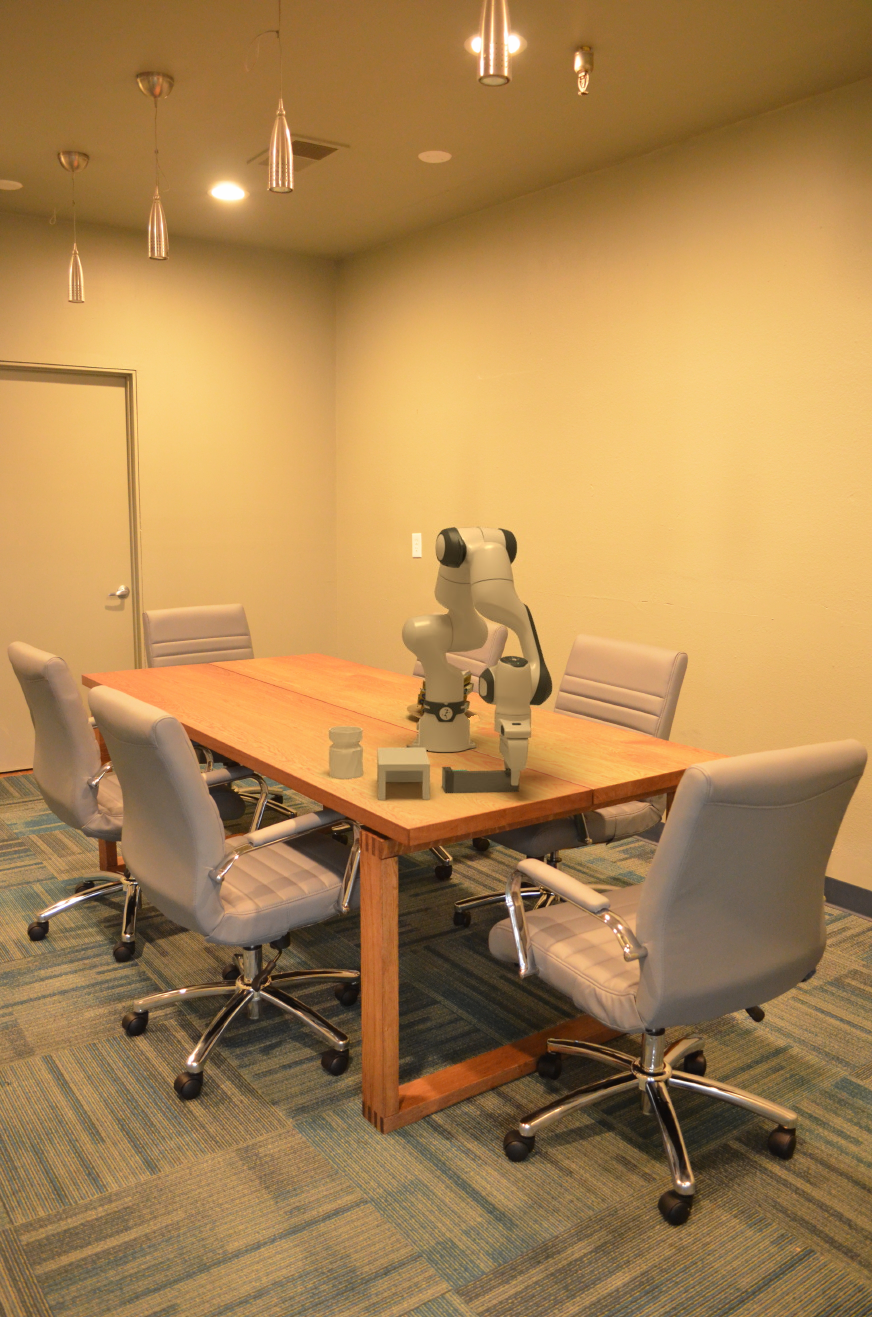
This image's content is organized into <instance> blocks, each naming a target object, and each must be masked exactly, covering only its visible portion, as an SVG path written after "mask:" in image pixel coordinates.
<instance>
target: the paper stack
mask: <svg viewBox="0 0 872 1317" xmlns="http://www.w3.org/2000/svg"><path fill="white" fill-rule="evenodd" d="M461 672H462V674H463V676H464V696H463V699H464V700H465V712H464V714H465V716H466V717H467V718H470V717H471V716H474V715H478V714H477V713H475V712H474V711H471V710H469V708H470V705H471V701H469V700H468V695H470V694H472V692H473V690H474V682H471V681H472V672H471V670H470V669H466V670H461ZM419 689H420V692H419V693H418V694H417V703H413V704H410V705H408V706H407V708H406V711H407V712H408V713H409V714H411V715H412V716H414V717H417V718H419V719H421V717H422V716H423V715H424V713H425V712H424V700H425V699H426V688H425V679H424V680H422V687H419Z"/></svg>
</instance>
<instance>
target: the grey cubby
mask: <svg viewBox="0 0 872 1317" xmlns="http://www.w3.org/2000/svg"><path fill="white" fill-rule="evenodd" d="M376 752H377V754H376V755H377V757H376V758H377V763H376V764H377V765H376V766H377V767H376V768H377V772H376V776H377V778H376V779H377V780H376V782H377V783H378V785H377V786H378V787H377V788H378V792H377V796H378V801H386V783H422V800H426V801H427V800H428V801H429V800H430V799H431V798H430V797H431V796H430V794H431V792H430V790H431V789H430V788H431V763H430V759H429V756H428V753H427V750H426V749H425V748H406V747H377V751H376Z"/></svg>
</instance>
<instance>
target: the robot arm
mask: <svg viewBox="0 0 872 1317" xmlns="http://www.w3.org/2000/svg"><path fill="white" fill-rule="evenodd" d="M517 541H518V540H517V538H516V536H515V535H514V533H513V532H512V531H511V530H508V529H504V528H501V527H500V528H499V527H498V528H493V527H486V526H473V527H471V526H470V527H455V526H454V527H447V528H443V529H442V530H440V532H439V533H438V535H437V537H436V540H435V556H436V559H437V561H438V562H439V567H438V572H437V576H436V582H435V588H434V591H433V592H434V597H435V600H436V601H437V603H438V604H440V605H441V606H442V607H444V608H446V609H447V610H448V612H447V613H444V614H443V613H441V614H421V615H417V616H412V617H410V618H408V619H407V620H406V621H405V623H404V624H403V626H402V630H401V637H402V638H401V639H402V642H403V645H404V646H405V647H406V648H407V650H409V651H410V652H411V653H413V654H414V656H415V657H416V658H417V659H418V660H419V663H421V667H422V669H423V674H424V680H425V688H426V699H425V700H424V712H425V713H424V715H423V716H422V717H421V718H419V719H418V721H417V722H416V731H417V733H416V737H415V738H414V740H413V741H412V742H411V746H412V747H414V748H425V749H426V751H427V750H428V751H429V752H435V753H436V752H438V753H452V752H453V753H454V752H463V751H465V750H469V749H475V748H476V747H477V743H476V742H474V741H472V740H471V724H470V720H469V719H468V718H467V717H466V716H465V714H464V712H465V700H464V699H463V696H464V676H463V674H462V672H461V671H462V670H461V669H460V668H458V666H456V665H453V664H451V663H449V662H448V660H447V653H461V652H462V653H465V652H470V651H474V650H479V649H482V648H483V647H484V646H485V644H486V643H487V640H488V637H489V628H488V624H487V622H486V621H485V619H484V618H486V619H487V620H489V621H492V622H494V623H497V624H499V625H503V626H504V627H506V628H508V629H510V630H511V631H512V632H513V633H514V634H516V636H517V639H518V641H519V645H520V648H521V652H522V656H523V657H521V656H517V655H516V656H515V655H506V656H503V657H502V656H501V657H500V658H499V659H498V661H497V664H496V665H493V666H490V667H486V668H485V669H483V671H482V672H481V673H480V674H479V676H478V695H479V697H480V699H482V700H483V701H484V702H485V703H487V705H488V704H489V705H491V706H492V705H493V706H495V709H494V724H493V725H494V727H493V728H494V729H493V730H494V731H495V732H496V733H499V734H498V736H499V742H498V743H499V745H498V749H499V754H500V755H501V757H502V758H503V763H504V764H503V765H504V770H511V777H510V783H511V785H518V784H519V785H520V775H521V771H525V770H526V768H527V762H528V755H529V754H528V753H529V739H531V737H532V709H531V708H532V707H531V706H541V705H542V704H544V703H545V702H546V701H547V700H548V699H549V698H550V697H551V695H552V693H553V681H552V676H551V674H550V671H549V669H548V667H547V664H546V661H545V658H544V657H545V656H544V654H543V650H542V647H541V644H540V643H541V642H540V638H539V635H538V632H537V631H538V630H537V628H536V625H535V621H534V618H533V616H532V612H531V609H530V608H529V606H528V605H527V604H525V603H523V601H521V599H520V598H519V596H518V594H517V592H516V588H515V582H514V574H513V568H512V564H513V563H514V561H515V559H516V557H517V554H518V542H517ZM479 614H480V615H481V616H480V615H479ZM483 617H484V618H483Z"/></svg>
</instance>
